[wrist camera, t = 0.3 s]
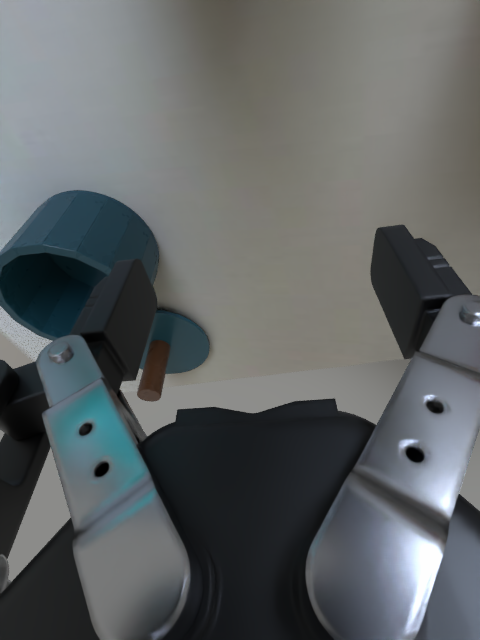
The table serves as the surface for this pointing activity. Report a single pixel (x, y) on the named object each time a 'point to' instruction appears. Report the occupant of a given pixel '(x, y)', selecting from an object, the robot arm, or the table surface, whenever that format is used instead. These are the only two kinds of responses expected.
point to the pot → (69, 258)
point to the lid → (170, 351)
